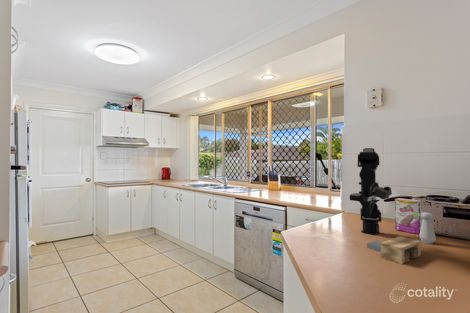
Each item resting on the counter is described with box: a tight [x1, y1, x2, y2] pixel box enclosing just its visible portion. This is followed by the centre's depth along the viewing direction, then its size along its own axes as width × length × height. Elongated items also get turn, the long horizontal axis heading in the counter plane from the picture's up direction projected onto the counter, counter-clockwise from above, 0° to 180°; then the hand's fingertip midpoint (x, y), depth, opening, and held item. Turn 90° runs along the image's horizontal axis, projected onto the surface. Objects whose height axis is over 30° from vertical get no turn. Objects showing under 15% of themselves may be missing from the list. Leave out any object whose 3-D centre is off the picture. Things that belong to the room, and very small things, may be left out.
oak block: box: [380, 235, 421, 265], centre depth 92 cm, size 7×15×6 cm, turn 122°
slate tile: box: [366, 240, 411, 258], centre depth 97 cm, size 14×7×2 cm, turn 28°
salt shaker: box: [418, 211, 437, 245], centre depth 109 cm, size 6×6×13 cm
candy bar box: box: [394, 197, 424, 236], centre depth 125 cm, size 11×5×16 cm, turn 34°
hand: (368, 215), depth 107 cm, fingers closed
